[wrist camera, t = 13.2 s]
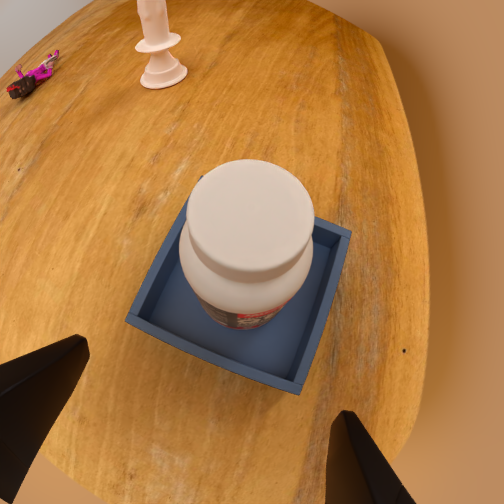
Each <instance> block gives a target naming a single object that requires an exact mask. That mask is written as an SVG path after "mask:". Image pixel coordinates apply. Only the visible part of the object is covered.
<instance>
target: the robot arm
mask: <svg viewBox="0 0 504 504" xmlns="http://www.w3.org/2000/svg"><path fill="white" fill-rule="evenodd" d="M89 357H90V352H89V347H88V342H87V339H86V338H85V337H83V336H81V335H78V334H75V335H72V336H70V337H68V338H65V339H63V340H60V341H58V342H55V343H53V344H50V345H48V346H46V347H43V348H41V349H38V350H36V351H33V352H31V353H28V354H26V355H23V356H21V357H18V358H16V359H13V360H11V361H8V362H6V363H3V364H1V365H0V498H1V499H3V500H4V501H5V502H7V503H9V504H12V503H13V501H14V499H15V497H16V495H17V492H18V490H19V488H20V486H21V484H22V482H23V480H24V478H25V476H26V474H27V472H28V470H29V468H30V466H31V464H32V462H33V460H34V458H35V456H36V455H37V453H38V451H39V449H40V447H41V445H42V444H43V442H44V440H45V438H46V436H47V435H48V433H49V431H50V429H51V428H52V426H53V424H54V423H55V421H56V419H57V417H58V416H59V414H60V412H61V411H62V409H63V407H64V406H65V404H66V403H67V401H68V399H69V398H70V396H71V394H72V393H73V391H74V389H75V387H76V385H77V383H78V381H79V379H80V377H81V374H82V372H83V370H84V368H85V366H86V364H87V362H88V360H89ZM325 504H416V503H415V501H414V500H413V499H412V498H411V496H410V494H409V493H408V492H407V490H406V489H405V487H404V486H403V485H402V483H401V481H400V480H399V478H398V477H397V475H396V474H395V472H394V471H393V469H392V468H391V466H390V465H389V463H388V462H387V460H386V459H385V457H384V456H383V454H382V453H381V451H380V450H379V448H378V447H377V445H376V444H375V442H374V441H373V439H372V438H371V436H370V435H369V433H368V432H367V430H366V429H365V427H364V426H363V424H362V423H361V421H360V420H359V418H358V417H357V415H356V414H355V412H353V411H348V410H343V411H341V412H340V413H339V415H338V416H337V417H336V419H335V420H334V421H333V423H332V425H331V430H330V438H329V447H328V455H327V463H326V493H325Z"/></svg>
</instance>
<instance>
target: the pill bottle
mask: <svg viewBox="0 0 504 504" xmlns="http://www.w3.org/2000/svg"><path fill="white" fill-rule="evenodd" d="M186 219H187V220H186V222H185V224H184V226H183V229H182V232H181V236H180V242H179V255H180V262H181V266H182V269H183V272H184V275H185V277H186V279H187V281H188V283H189V284H190V286H191V288H192V290H193V291H194V293H195V295H196V297H197V298H198V300H199V302H200V304H201V306H202V307H203V309H204V310H205V311H206V313H207V314H208V315H209V316H210V317H211V318H212V319H213V320H214V321H216V322H217V323H219V324H220V325H222V326H225V327H227V328H231V329H235V330H249V329H254V328H257V327H260V326H262V325H264V324H266V323H267V322H269V321H270V320H271V319H272V318H274V317H275V316H276V315H277V313H278V312H279V311H280V310H281V309H282V308H283V307H284V306H285V305H286V303H287V302H288V301H289V300H290V299H291V298H292V297H293V296H294V295H295V294H296V293H297V291H298V290H299V289H300V288H301V286H302V285H303V283H304V281H305V279H306V277H307V275H308V272H309V269H310V266H311V262H312V257H313V241H312V236H311V235H312V232H313V227H314V208H313V204H312V201H311V198H310V196H309V194H308V192H307V190H306V189H305V187H304V186H303V185H302V183H301V182H300V181H299V180H298V179H297V178H296V177H295V176H293V175H292V174H291V173H290V172H288V171H287V170H285V169H283V168H281V167H279V166H277V165H275V164H272V163H269V162H265V161H260V160H249V159H245V160H236V161H231V162H227V163H225V164H222V165H220V166H218V167H216V168H214V169H212V170H211V171H209V172H208V173H207V174H205V175H204V176H203V177H202V178H201V179H200V180H199V182H198V183H197V184H196V186H195V187H194V189H193V190H192V192H191V195H190V197H189V200H188V204H187V211H186Z"/></svg>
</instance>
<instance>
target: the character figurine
mask: <svg viewBox="0 0 504 504" xmlns="http://www.w3.org/2000/svg"><path fill="white" fill-rule="evenodd" d="M58 56H59V50H56V51H55V53H54V56H52V55H51V54H49V55H48V59H47V60H45V61H43V62H42V63H41V64H40V65H39V66H38V68H36V69H34V70H30V71H28V72H27V73H26V75H25V76H23V74H22V73H21V71H20V70H21V68H22V66H21V64H19V65H18V66H16V68H15V69H16V72H17V73H18V75H19V77H20V79H19V80H18V81H16V82H13V83H12V84H11V85H10V86H8V87H7V92H9V95H10V97H11V98H12V99H17V98H20V97H23V96H24V95H27V94H28V93H30V92H31V91H32V90H33V89H34V88H35V86H34V85H35V84H36V82H37V81H38V80H41V79H45V78H48V77H50V76H51V74H52V69H53V66H54V63H53V62H54V60H56V59H57V58H58ZM46 69H47V70H48V72H47V74H45V73H44V74H42V73H43V72H44V71H45V70H46Z"/></svg>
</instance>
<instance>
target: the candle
mask: <svg viewBox="0 0 504 504" xmlns="http://www.w3.org/2000/svg"><path fill="white" fill-rule="evenodd" d="M137 5H138V14H139V16H140V18H141V22H142V28H143V33H144V39H143V40H141V41H140V42H139V43H138V44H137V45H136V47H135V48H136V50H137V51H139V52H142V53H151V57H150V61H149V64H148V65H147V66H146V67H145V73H144V74H143V75H142V77H141V79H140V82H141V84H142V85H143V86H144V87H146V88H150V89H159V88H165V87H169V86H172V85H174V84H176V83H178V82H180V81H181V80H182V79H184V78H185V76H186V75H187V68H186V67H185V66H183V65H181V64H180V62H179V60H178V59H176V58H174V57H173V56H172V55H171V54H170V52H169V51H168V49H169V48H171V47H172V46H174V45H176V44H177V43H178V42H179V41H180V39H181V37H180V35H178V34H175V33H169V26H168V18H167V10H166V1H165V0H137Z"/></svg>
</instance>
